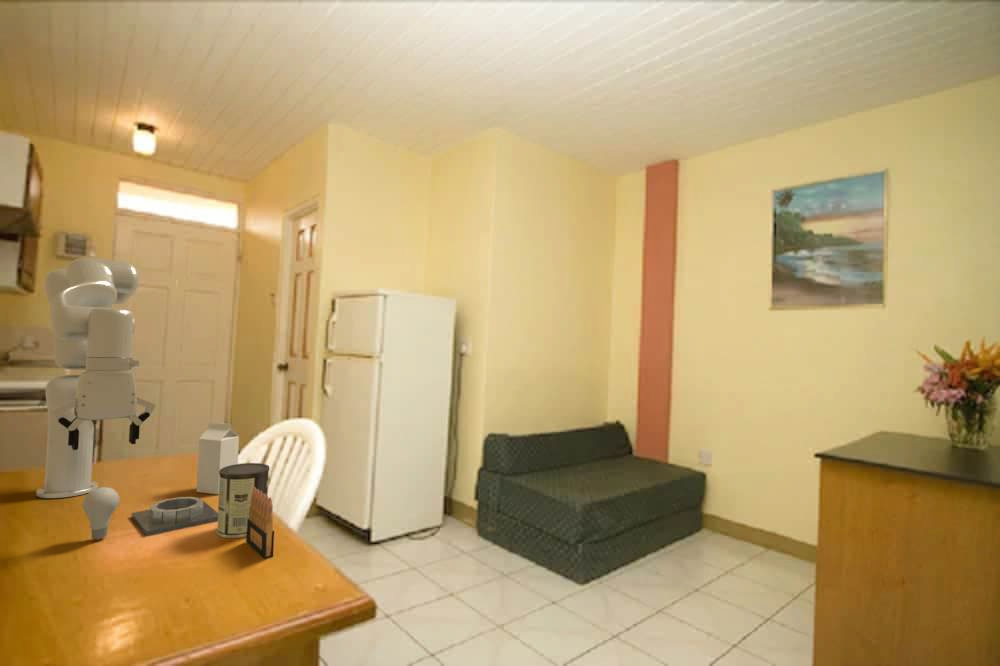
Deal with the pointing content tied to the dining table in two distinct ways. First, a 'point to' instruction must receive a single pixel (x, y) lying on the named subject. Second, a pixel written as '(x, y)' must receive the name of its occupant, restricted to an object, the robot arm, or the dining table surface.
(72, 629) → the dining table surface
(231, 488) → the coffee can
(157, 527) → the ring collar
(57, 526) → the dining table surface
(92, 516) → the lightbulb
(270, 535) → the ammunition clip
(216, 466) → the milk carton
